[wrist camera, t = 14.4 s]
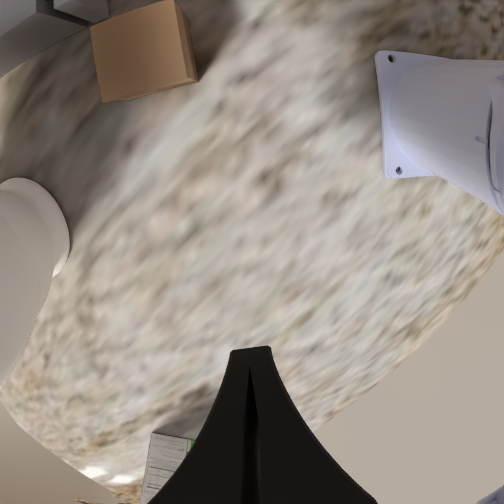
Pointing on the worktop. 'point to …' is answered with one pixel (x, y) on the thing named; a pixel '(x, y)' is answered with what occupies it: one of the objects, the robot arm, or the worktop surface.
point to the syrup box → (162, 462)
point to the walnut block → (143, 52)
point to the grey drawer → (83, 8)
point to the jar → (26, 262)
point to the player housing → (31, 30)
